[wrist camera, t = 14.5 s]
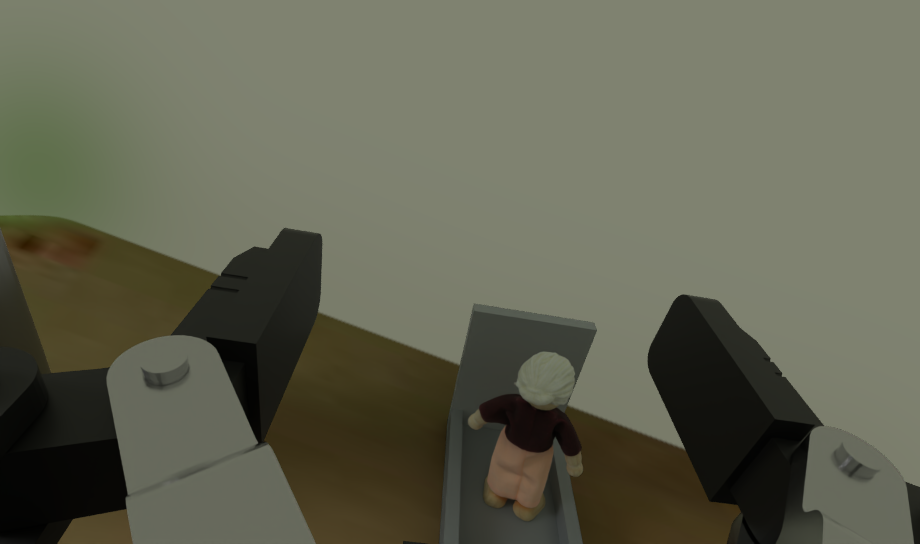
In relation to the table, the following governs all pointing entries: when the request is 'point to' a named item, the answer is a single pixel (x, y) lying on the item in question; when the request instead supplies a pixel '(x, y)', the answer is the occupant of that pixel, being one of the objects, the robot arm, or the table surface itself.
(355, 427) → the table surface
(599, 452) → the table surface
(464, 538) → the case
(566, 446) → the grandmother figurine
